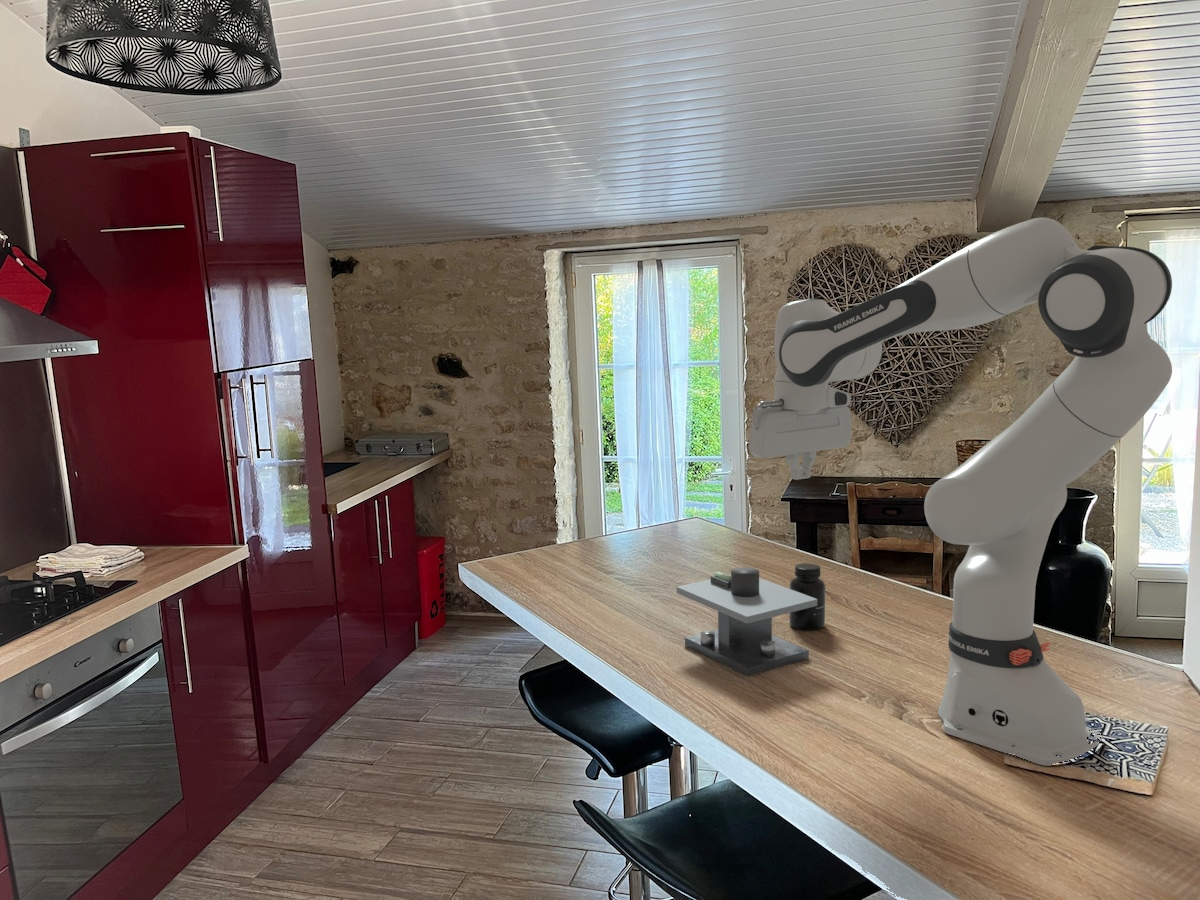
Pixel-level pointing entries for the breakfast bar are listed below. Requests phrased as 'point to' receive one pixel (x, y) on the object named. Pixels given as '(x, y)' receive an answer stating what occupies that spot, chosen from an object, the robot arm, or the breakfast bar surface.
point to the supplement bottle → (812, 587)
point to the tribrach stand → (746, 646)
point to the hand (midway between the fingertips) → (800, 478)
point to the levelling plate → (748, 605)
